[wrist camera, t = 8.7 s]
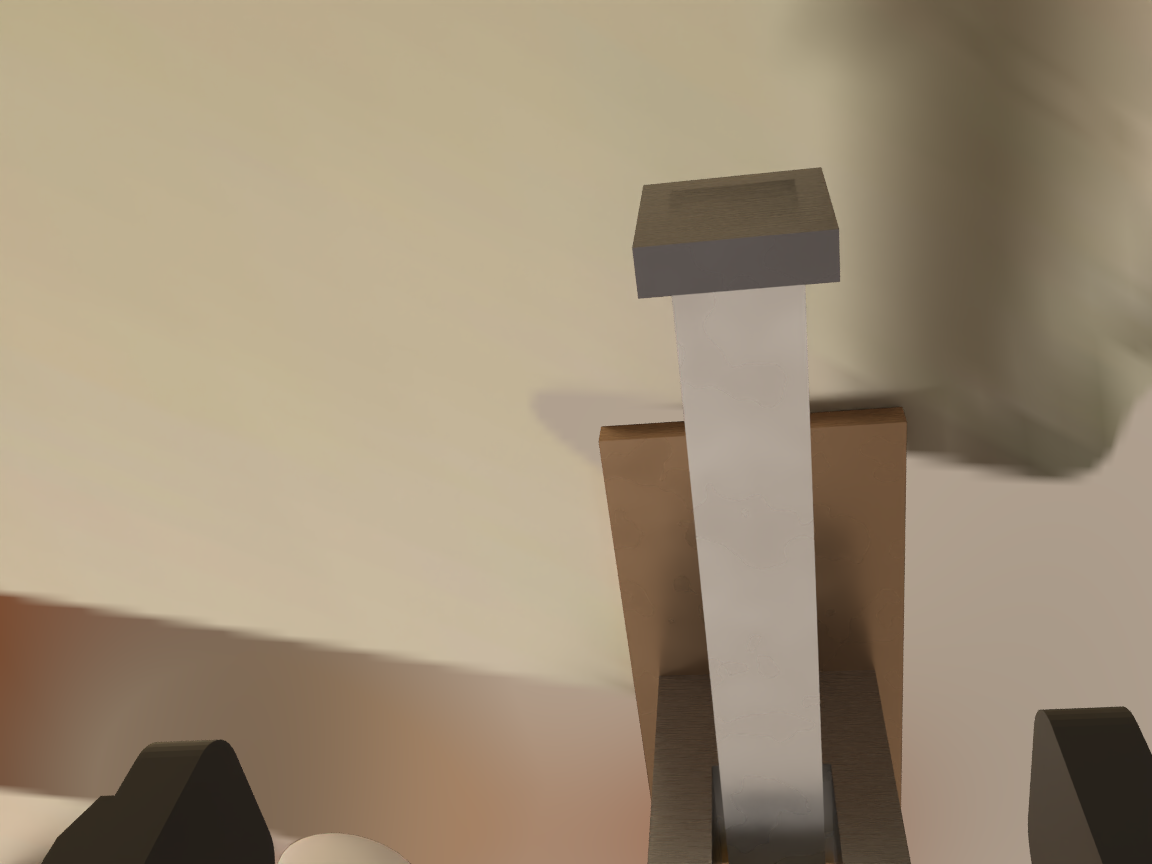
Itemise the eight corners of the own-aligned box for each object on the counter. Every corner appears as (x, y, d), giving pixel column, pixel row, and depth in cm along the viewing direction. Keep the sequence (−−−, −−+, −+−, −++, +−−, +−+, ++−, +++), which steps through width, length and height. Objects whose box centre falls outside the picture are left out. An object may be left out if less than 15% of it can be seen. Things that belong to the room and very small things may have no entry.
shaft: (821, 167, 27) (838, 229, 23) (838, 831, 39) (851, 944, 35) (643, 185, 27) (632, 248, 24) (713, 831, 39) (713, 942, 35)
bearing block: (902, 407, 36) (974, 641, 26) (895, 916, 48) (942, 1203, 39) (601, 426, 37) (560, 653, 27) (671, 914, 50) (661, 1189, 40)
